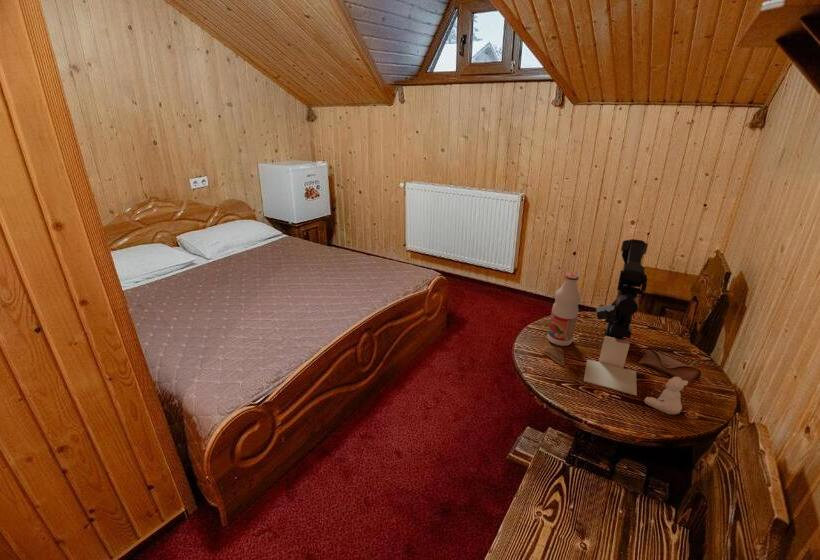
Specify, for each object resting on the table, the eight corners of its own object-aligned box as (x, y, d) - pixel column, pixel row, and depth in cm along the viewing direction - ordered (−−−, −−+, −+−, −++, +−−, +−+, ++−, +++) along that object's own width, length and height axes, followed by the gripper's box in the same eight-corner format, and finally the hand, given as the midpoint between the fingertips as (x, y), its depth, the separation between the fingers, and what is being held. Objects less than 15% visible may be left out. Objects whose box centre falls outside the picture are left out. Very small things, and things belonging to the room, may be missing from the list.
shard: (563, 368, 144) (564, 363, 143) (541, 364, 146) (542, 359, 145) (562, 352, 153) (563, 348, 153) (542, 348, 155) (542, 344, 155)
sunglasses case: (636, 362, 147) (643, 345, 147) (640, 364, 152) (648, 348, 152) (692, 386, 134) (700, 368, 134) (694, 388, 139) (703, 370, 139)
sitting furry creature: (665, 396, 130) (675, 365, 125) (689, 413, 122) (701, 381, 118) (642, 401, 127) (651, 370, 122) (665, 420, 120) (677, 387, 115)
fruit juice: (575, 346, 156) (589, 280, 145) (550, 345, 156) (562, 279, 145) (567, 334, 164) (580, 270, 153) (544, 333, 165) (555, 270, 154)
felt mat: (586, 360, 148) (587, 359, 147) (635, 372, 141) (636, 371, 141) (583, 381, 136) (583, 380, 136) (636, 395, 130) (636, 394, 129)
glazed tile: (599, 358, 149) (604, 335, 144) (623, 364, 145) (629, 341, 141) (598, 362, 147) (604, 339, 142) (623, 368, 143) (629, 344, 139)
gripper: (601, 288, 150) (593, 325, 156) (598, 308, 135) (589, 348, 141) (635, 295, 145) (625, 332, 152) (636, 316, 130) (625, 357, 136)
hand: (615, 342), depth 145 cm, fingers closed
